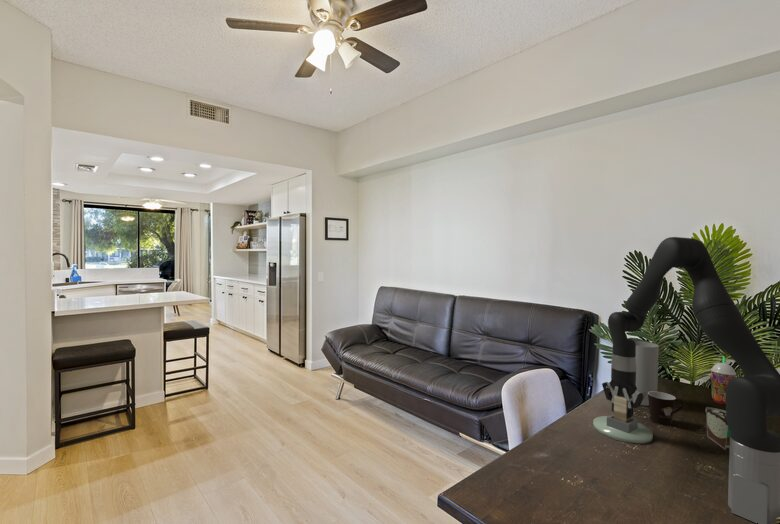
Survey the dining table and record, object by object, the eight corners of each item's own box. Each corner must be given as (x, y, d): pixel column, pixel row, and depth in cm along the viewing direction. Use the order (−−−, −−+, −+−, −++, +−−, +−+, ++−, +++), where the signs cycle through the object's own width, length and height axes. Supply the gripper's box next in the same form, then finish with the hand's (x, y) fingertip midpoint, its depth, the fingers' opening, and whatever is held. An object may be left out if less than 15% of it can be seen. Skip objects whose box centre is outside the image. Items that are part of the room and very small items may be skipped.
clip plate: (639, 448, 121) (639, 435, 121) (583, 427, 135) (583, 415, 135) (661, 434, 131) (661, 421, 131) (607, 416, 146) (607, 404, 146)
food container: (751, 454, 118) (752, 423, 118) (728, 452, 120) (729, 421, 119) (724, 436, 130) (725, 408, 130) (704, 434, 132) (705, 406, 132)
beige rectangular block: (625, 427, 130) (626, 399, 130) (613, 423, 134) (614, 395, 133) (630, 425, 133) (631, 397, 132) (618, 420, 136) (619, 393, 136)
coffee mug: (648, 423, 140) (649, 396, 140) (645, 414, 147) (646, 389, 147) (687, 430, 134) (688, 403, 134) (682, 421, 142) (682, 395, 142)
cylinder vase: (627, 404, 158) (629, 345, 158) (618, 394, 170) (620, 339, 170) (661, 408, 155) (663, 348, 154) (650, 397, 166) (652, 341, 166)
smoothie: (705, 400, 164) (707, 355, 164) (715, 397, 167) (717, 353, 167) (729, 407, 156) (730, 360, 156) (739, 404, 160) (740, 358, 160)
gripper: (597, 364, 136) (596, 410, 137) (641, 374, 125) (640, 425, 125) (607, 361, 141) (606, 406, 141) (650, 371, 129) (649, 420, 129)
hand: (622, 415), depth 133 cm, fingers closed on beige rectangular block, 3 cm apart
